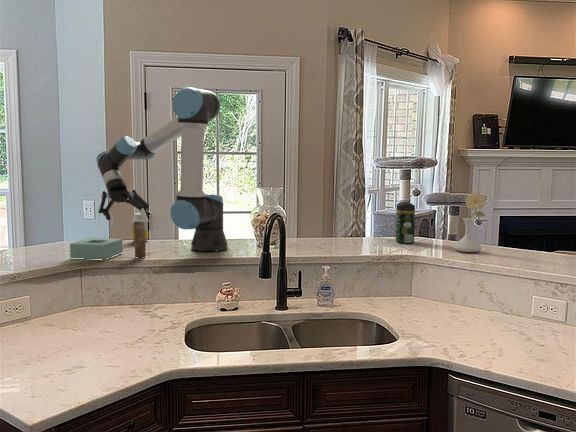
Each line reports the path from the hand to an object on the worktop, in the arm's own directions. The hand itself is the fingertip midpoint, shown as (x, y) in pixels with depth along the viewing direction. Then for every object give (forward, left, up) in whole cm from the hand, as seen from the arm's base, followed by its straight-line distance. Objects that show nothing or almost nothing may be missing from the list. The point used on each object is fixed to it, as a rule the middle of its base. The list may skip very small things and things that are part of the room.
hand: (130, 224), depth 213 cm
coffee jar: (-107, -54, -12) cm, 120 cm away
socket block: (+11, +6, -12) cm, 18 cm away
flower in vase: (-133, -37, -12) cm, 138 cm away
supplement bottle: (+10, -29, -12) cm, 33 cm away
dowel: (-6, +4, -12) cm, 14 cm away
